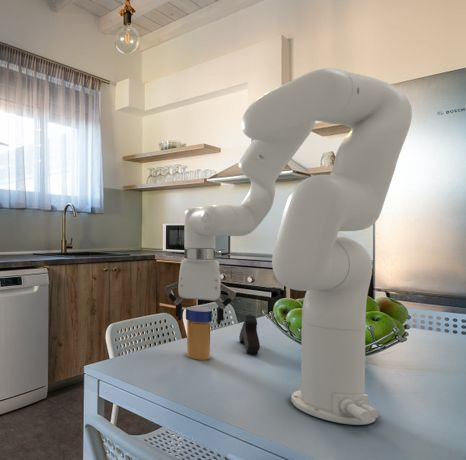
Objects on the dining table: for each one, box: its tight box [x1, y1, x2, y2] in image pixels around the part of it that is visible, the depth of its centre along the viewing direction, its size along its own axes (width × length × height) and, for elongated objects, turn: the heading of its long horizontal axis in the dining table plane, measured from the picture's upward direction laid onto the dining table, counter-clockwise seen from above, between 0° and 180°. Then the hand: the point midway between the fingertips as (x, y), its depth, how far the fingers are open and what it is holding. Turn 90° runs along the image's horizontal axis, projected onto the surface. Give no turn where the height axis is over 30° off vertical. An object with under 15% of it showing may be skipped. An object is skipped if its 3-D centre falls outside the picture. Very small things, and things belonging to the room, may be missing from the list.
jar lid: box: [185, 306, 213, 323], centre depth 104 cm, size 6×6×3 cm
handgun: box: [238, 313, 261, 355], centre depth 111 cm, size 3×14×10 cm
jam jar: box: [186, 320, 211, 361], centre depth 104 cm, size 6×6×12 cm
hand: (199, 321), depth 104 cm, fingers open, 9 cm apart
